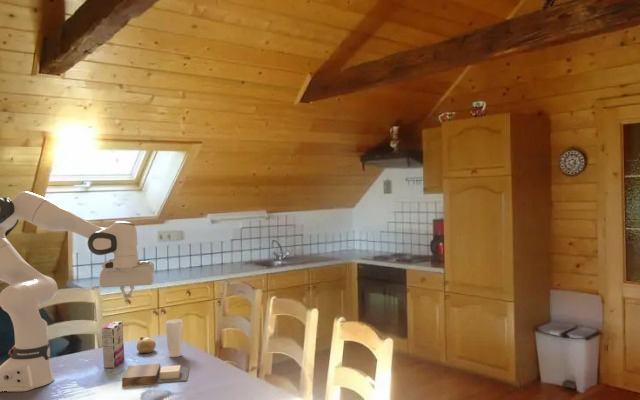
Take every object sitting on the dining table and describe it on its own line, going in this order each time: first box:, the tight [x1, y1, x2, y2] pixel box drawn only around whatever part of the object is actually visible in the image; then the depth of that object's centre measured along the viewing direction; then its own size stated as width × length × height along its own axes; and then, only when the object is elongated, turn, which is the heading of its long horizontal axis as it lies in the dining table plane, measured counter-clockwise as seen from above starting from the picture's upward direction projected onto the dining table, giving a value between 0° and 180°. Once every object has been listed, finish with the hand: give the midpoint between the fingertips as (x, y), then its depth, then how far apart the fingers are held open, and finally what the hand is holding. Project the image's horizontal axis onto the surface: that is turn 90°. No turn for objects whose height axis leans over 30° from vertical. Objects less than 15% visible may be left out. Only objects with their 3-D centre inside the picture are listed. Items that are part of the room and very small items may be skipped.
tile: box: [160, 364, 182, 379], centre depth 216 cm, size 7×7×2 cm
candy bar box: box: [101, 320, 125, 369], centre depth 233 cm, size 11×5×16 cm, turn 0°
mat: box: [156, 367, 190, 384], centre depth 217 cm, size 11×14×1 cm
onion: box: [136, 335, 157, 354], centre depth 249 cm, size 8×8×7 cm
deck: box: [121, 363, 161, 387], centre depth 215 cm, size 12×14×3 cm
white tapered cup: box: [165, 318, 183, 358], centre depth 242 cm, size 7×7×15 cm
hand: (127, 297), depth 224 cm, fingers closed
